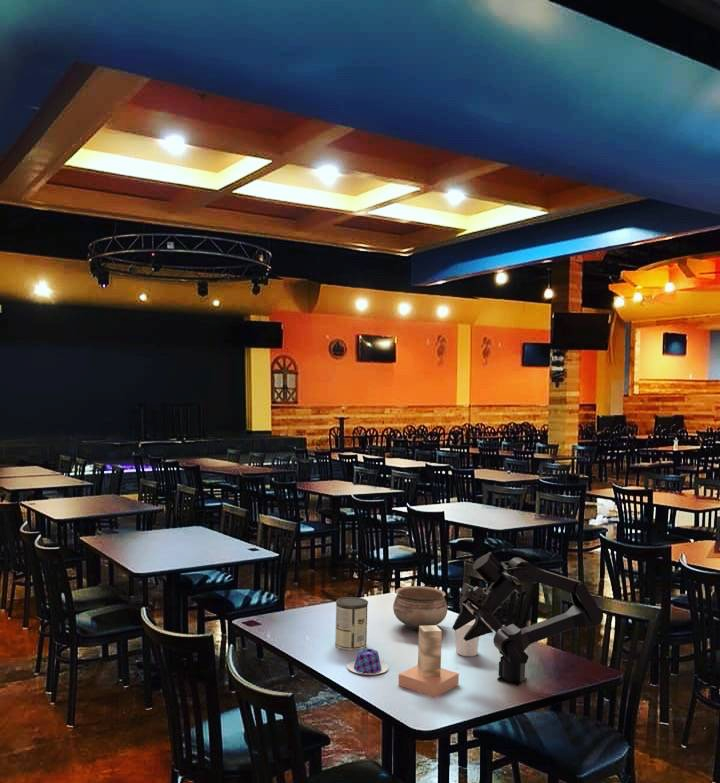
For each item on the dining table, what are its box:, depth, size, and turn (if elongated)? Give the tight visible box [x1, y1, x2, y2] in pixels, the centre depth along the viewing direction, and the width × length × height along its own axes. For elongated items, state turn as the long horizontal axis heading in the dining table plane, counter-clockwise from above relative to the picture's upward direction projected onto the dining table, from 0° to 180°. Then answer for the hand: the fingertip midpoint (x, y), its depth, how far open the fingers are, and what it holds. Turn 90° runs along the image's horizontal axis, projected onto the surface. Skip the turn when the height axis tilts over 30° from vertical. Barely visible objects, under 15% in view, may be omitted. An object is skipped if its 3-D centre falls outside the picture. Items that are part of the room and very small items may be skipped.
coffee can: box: [334, 596, 369, 652], centre depth 225 cm, size 10×10×14 cm
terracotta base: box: [398, 664, 460, 698], centre depth 195 cm, size 12×12×3 cm
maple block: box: [417, 625, 443, 677], centre depth 195 cm, size 5×5×12 cm
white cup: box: [454, 618, 480, 657], centre depth 221 cm, size 8×8×10 cm
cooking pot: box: [392, 585, 448, 631], centre depth 246 cm, size 25×19×12 cm
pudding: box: [346, 648, 389, 676], centre depth 205 cm, size 12×12×5 cm
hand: (458, 634), depth 197 cm, fingers open, 9 cm apart
